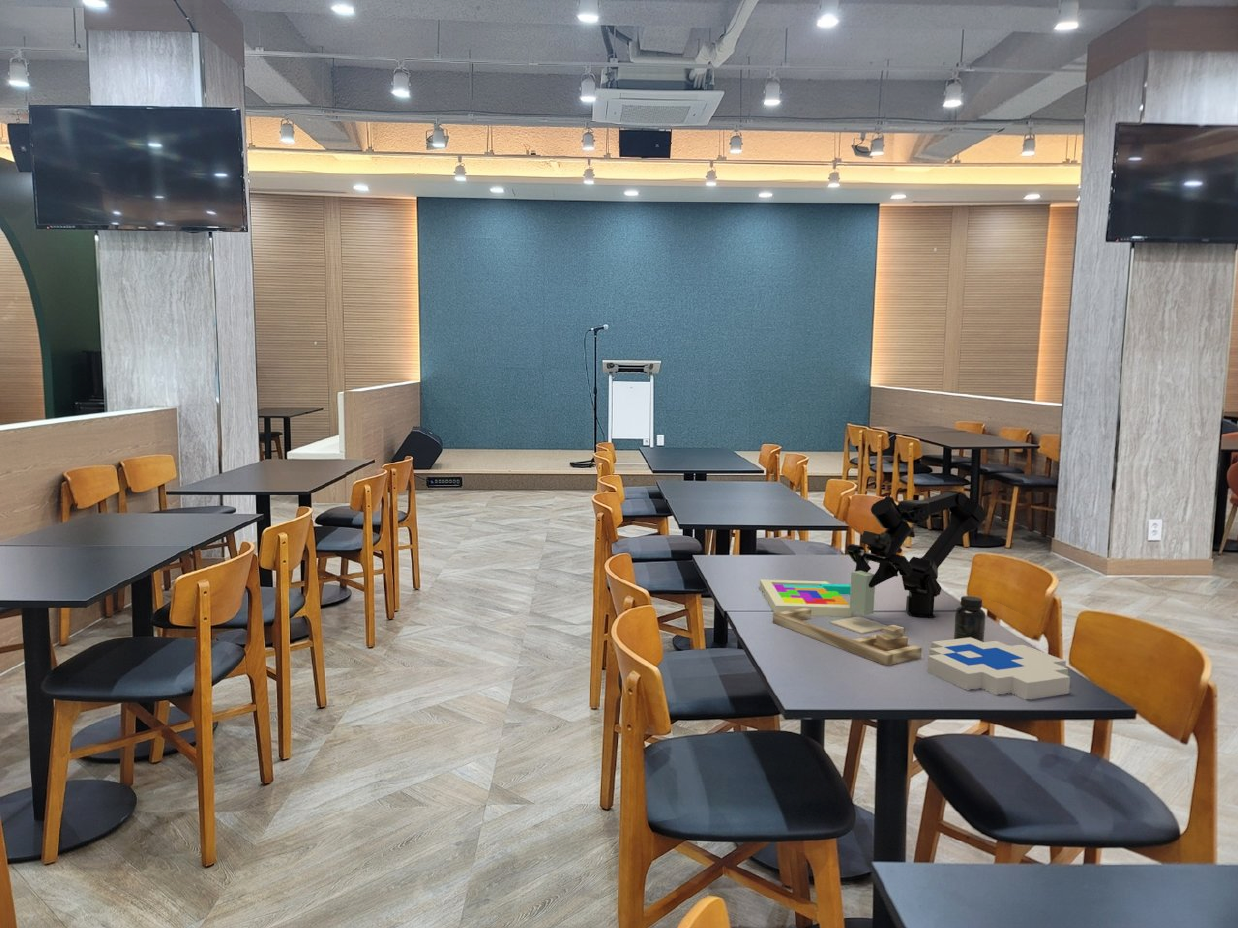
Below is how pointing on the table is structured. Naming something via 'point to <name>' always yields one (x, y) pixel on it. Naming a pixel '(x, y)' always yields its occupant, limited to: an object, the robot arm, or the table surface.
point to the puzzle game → (807, 596)
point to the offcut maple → (892, 631)
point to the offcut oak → (891, 641)
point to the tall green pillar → (861, 593)
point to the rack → (844, 639)
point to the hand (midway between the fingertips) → (861, 584)
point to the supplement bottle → (970, 619)
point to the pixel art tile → (998, 668)
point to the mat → (859, 625)
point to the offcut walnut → (886, 648)
